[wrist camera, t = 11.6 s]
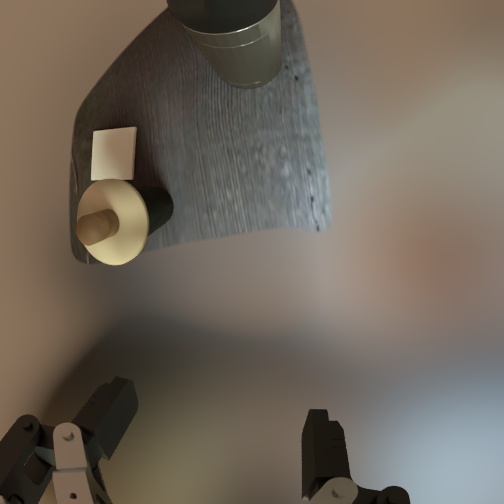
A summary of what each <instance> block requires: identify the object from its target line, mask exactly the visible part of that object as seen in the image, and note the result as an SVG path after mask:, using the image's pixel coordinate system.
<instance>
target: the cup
mask: <svg viewBox="0 0 504 504" xmlns="http://www.w3.org/2000/svg"><path fill="white" fill-rule="evenodd" d="M134 188H135V189H136V190H137V191H138V192H139V194H140V195H141V197H142V198H143V200H144V202H145V205H146V207H147V211H148V216H149V233H148V236H149V235H150V234H152V233H153V232H154V231H156V230H157V229H158V228H159V227H161V226H162V225H163V224H165V223H166V222H167V221H168V220H169V219H170V218H171V216H172V213H173V208H174V206H173V201H172V198H171V196H170V195H169V194H168V193H167V192H166V191H165V190H163V189H160V188H148V187H134Z"/></svg>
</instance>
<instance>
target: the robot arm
mask: <svg viewBox="0 0 504 504" xmlns="http://www.w3.org/2000/svg"><path fill="white" fill-rule="evenodd" d="M167 3H168V6H169V8H170V10H171V11H172V13H173V14H174V15H175V17H176V18H177V19H178V20H179V22H180V23H181V24H182V26H183V27H184V28H185V30H186V31H187V32H188V33H189V35H190V36H191V37H192V39H193V40H194V41H195V43H196V44H197V45H198V47H199V48H200V49H201V51H202V52H203V53H204V55H205V56H206V58H207V59H208V60H209V62H210V63H211V64H212V66H213V67H214V69H215V70H216V72H217V73H218V74H219V76H220V77H221V78H222V79H223V80H224V81H225V82H226V83H228V84H229V85H231V86H234V87H237V88H243V89H250V88H256V87H260V86H262V85H265V84H267V83H268V82H269V81H271V80H272V79H273V78H274V77H275V76H276V75H277V73H278V71H279V69H280V66H281V24H280V3H279V0H167ZM137 409H138V399H137V395H136V391H135V387H134V382H133V380H131V379H128V378H124V377H121V376H116V377H115V378H114V379H113V381H112V382H111V383H110V384H109V383H105V384H103V385H101V386H100V387H98V388H97V389H96V391H95V392H94V393H93V395H92V396H91V397H90V398H89V400H88V402H86V404H85V405H84V406H83V407H82V409H81V410H80V412H79V413H78V414H77V416H76V417H75V418H74V419H73V421H72V422H71V423H63V424H60V425H58V426H57V427H51V426H46V425H42V424H40V422H39V421H38V419H37V418H36V417H35V416H32V415H23V416H21V417H19V418H18V419H17V421H16V422H15V423H14V424H13V426H12V427H11V428H10V429H9V431H8V432H7V433H6V435H5V436H4V437H3V439H2V440H1V441H0V504H38V502H39V501H40V499H41V497H42V495H43V493H44V491H45V489H46V488H47V486H48V484H49V482H50V480H51V479H52V477H53V481H54V487H55V493H56V498H57V503H58V504H113V503H112V501H111V499H110V497H109V495H108V492H107V489H106V486H105V482H104V479H103V475H102V472H101V468H100V464H99V460H100V459H101V457H102V458H104V459H107V460H110V458H111V456H112V455H113V453H114V451H115V449H116V448H117V446H118V444H119V442H120V440H121V439H122V437H123V435H124V433H125V432H126V430H127V428H128V426H129V424H130V423H131V421H132V419H133V418H134V416H135V414H136V412H137ZM301 442H302V500H309V502H308V503H307V504H410V499H409V495H408V493H407V491H406V490H405V489H403V488H401V487H398V486H390V487H387V488H385V489H383V490H382V491H377V490H371V489H365V488H362V487H360V486H358V485H356V484H355V483H354V482H353V480H352V478H351V476H350V470H349V462H348V455H347V449H346V443H345V437H344V430H343V428H342V427H341V425H340V424H339V422H338V421H329V418H328V412H327V410H326V409H310V410H309V412H308V416H307V419H306V422H305V425H304V428H303V432H302V441H301ZM30 455H31V456H30ZM29 456H30V457H29ZM28 458H29V459H28ZM27 460H28V461H27ZM26 461H27V462H26ZM25 463H26V464H25ZM24 464H25V465H24Z"/></svg>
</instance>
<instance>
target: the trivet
mask: <svg viewBox="0 0 504 504" xmlns="http://www.w3.org/2000/svg"><path fill="white" fill-rule="evenodd" d="M136 131H137V127H128V128H118V129H109V130H101V131H94V135H93V149H92V172H91V180H103V179H111V178H114V179H120V180H133V179H134V161H135V144H136Z"/></svg>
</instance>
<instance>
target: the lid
mask: <svg viewBox="0 0 504 504" xmlns="http://www.w3.org/2000/svg"><path fill="white" fill-rule="evenodd" d="M76 233H77V236H78V238H79V240H80V241H81V242H82V243H83V244H84V245H85V247H86V248H87V250H88V251H89V252H90V253H91V254H92V255H93V256H94V257H95V258H96V259H98V260H99V261H101V262H103V263H106V264H110V265H120V264H124V263H126V262H128V261H130V260H131V259H133V258H134V257H136V256H137V255H138V254H139V253H140V252H141V250H142V249H143V247H144V245H145V243H146V241H147V237H148V233H149V216H148V211H147V207H146V205H145V202H144V200H143V198H142V197H141V195H140V194H139V192H138V191H137V190H136V189H135V188H134V187H133V186H132V185H131V184H129V183H127V182H125V181H123V180H120V179H114V178H111V179H103V180H99V181H97V182H95V183H94V184H92V185H91V186H90V187H89V188H88V189H87V190H86V191H85V193H84V194H83V196H82V198H81V200H80V203H79V207H78V213H77V224H76Z"/></svg>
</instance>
